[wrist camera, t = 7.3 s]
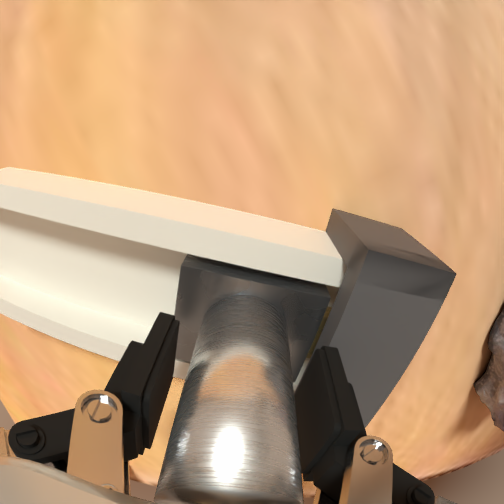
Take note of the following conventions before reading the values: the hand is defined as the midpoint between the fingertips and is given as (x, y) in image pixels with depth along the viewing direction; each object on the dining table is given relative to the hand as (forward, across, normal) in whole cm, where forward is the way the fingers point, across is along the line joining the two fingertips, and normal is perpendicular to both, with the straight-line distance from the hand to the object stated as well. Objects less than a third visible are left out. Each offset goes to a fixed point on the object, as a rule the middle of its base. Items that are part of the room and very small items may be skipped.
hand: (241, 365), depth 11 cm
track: (+6, +4, 0) cm, 7 cm away
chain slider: (+4, -2, 0) cm, 5 cm away
